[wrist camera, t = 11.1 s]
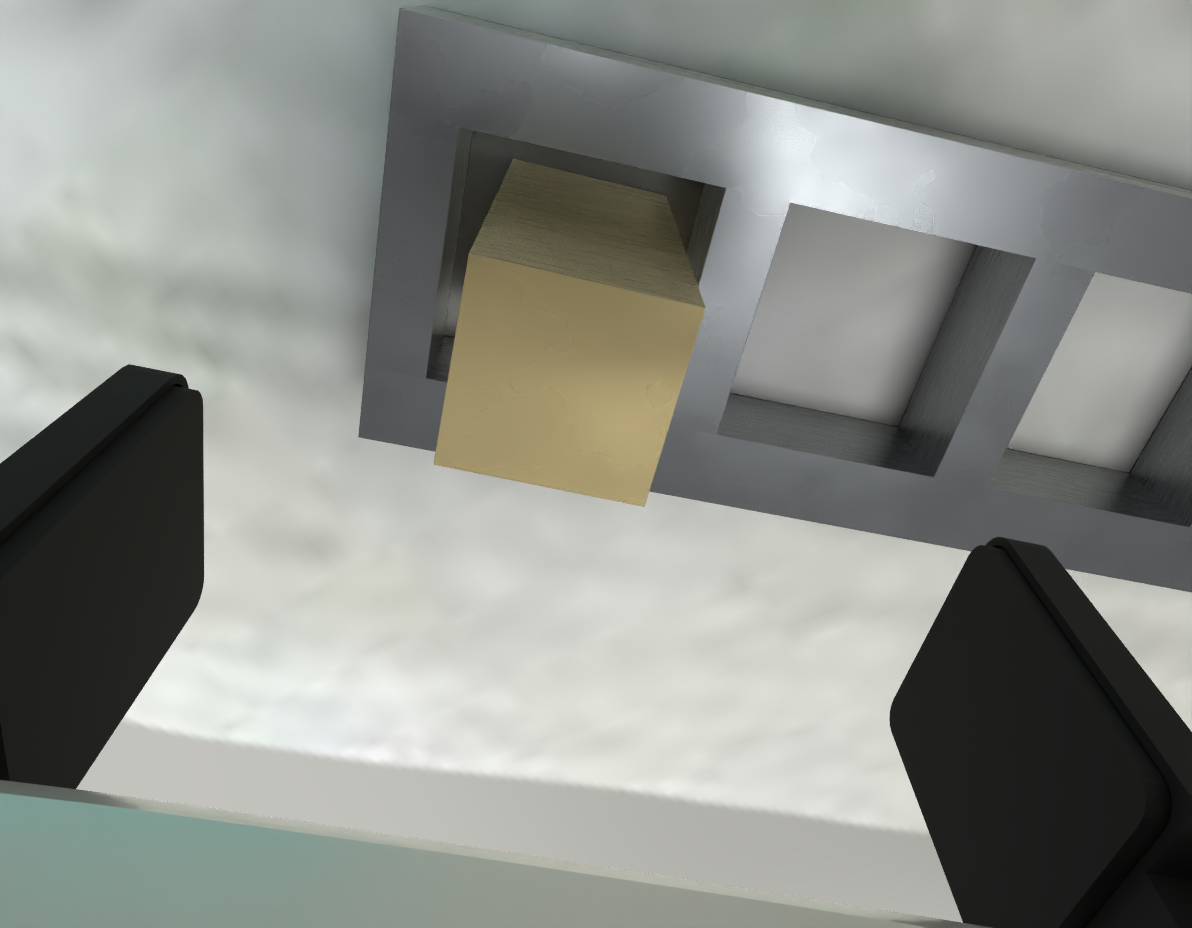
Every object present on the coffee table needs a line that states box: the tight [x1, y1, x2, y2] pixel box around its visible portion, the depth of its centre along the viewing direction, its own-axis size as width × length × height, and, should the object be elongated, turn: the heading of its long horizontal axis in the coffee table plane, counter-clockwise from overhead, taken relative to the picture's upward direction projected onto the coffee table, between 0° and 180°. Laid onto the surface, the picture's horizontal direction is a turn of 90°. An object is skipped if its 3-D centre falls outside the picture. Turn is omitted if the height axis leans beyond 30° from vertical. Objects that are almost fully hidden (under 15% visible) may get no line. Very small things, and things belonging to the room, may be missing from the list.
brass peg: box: [434, 158, 706, 507], centre depth 19 cm, size 4×4×9 cm
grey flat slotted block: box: [359, 6, 1192, 592], centre depth 22 cm, size 24×10×3 cm, turn 78°
